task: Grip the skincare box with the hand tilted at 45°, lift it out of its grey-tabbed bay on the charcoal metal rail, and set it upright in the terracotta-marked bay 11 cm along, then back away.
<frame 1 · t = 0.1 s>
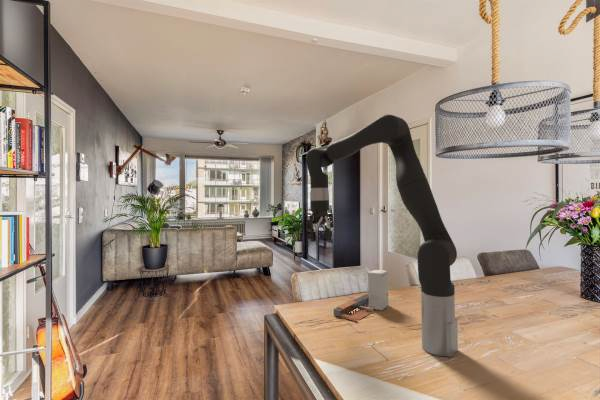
hand: (320, 240, 124), 29 cm above the table, tool pointing down, fingers open, 8 cm apart
skincare box: (378, 307, 131), on the table
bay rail: (366, 310, 127), on the table
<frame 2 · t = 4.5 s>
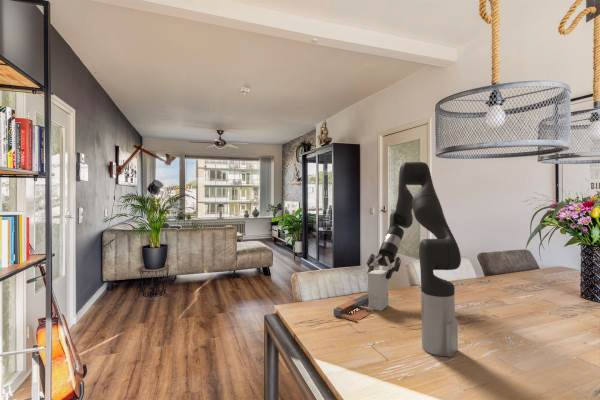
hand: (378, 276, 133), 12 cm above the table, tool tilted 45°, fingers open, 8 cm apart
skincare box: (378, 307, 131), on the table, touching gripper
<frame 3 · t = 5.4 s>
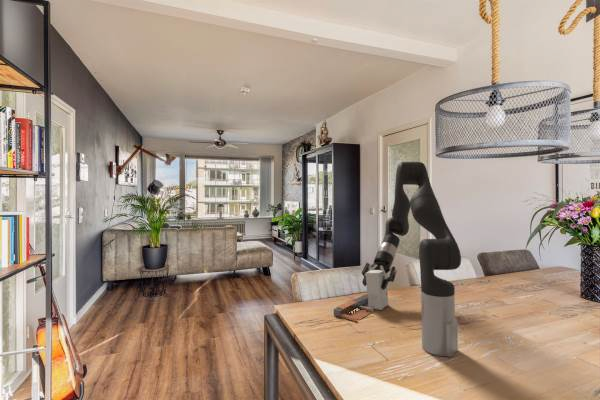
hand: (373, 286, 130), 9 cm above the table, tool tilted 45°, fingers open, 8 cm apart
nothing on the table moved.
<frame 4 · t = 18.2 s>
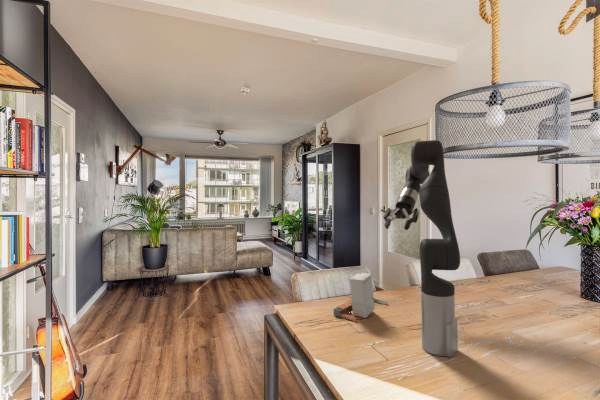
hand: (395, 228, 131), 33 cm above the table, tool tilted 45°, fingers open, 8 cm apart
skincare box: (363, 312, 123), point 1 cm above the table, touching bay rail
at the end: skincare box 2.1 cm from the target spot, point 0.6 cm above the table; skincare box tilted 8°; the gripper is holding nothing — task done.
